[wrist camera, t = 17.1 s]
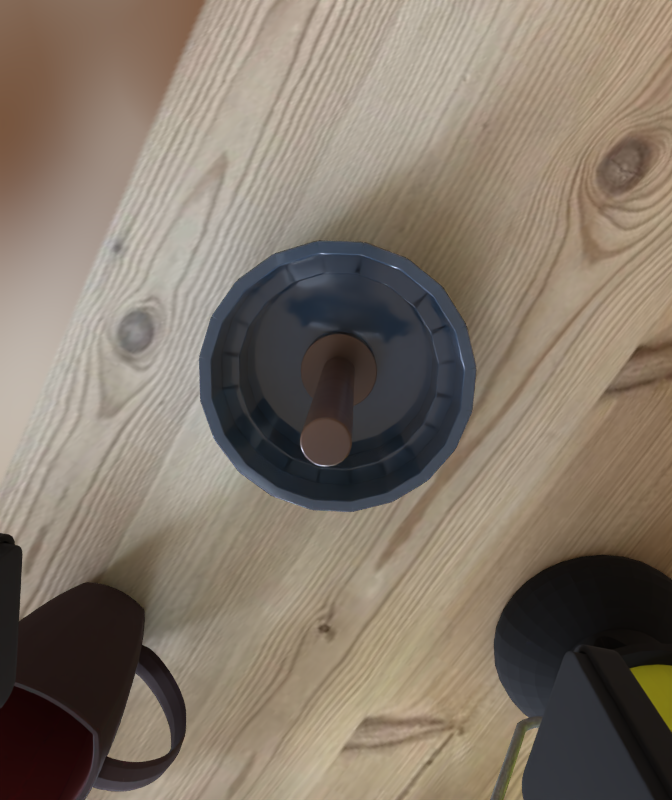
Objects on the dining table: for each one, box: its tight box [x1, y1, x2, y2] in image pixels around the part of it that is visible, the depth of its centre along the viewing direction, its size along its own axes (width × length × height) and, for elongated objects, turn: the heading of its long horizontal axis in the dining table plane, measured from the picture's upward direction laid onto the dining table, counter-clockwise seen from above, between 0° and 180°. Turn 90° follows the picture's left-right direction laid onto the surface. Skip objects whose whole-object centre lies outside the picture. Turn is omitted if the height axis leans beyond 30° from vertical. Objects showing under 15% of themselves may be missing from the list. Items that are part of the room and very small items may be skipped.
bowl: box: [199, 240, 476, 512], centre depth 34 cm, size 15×15×6 cm
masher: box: [300, 332, 377, 466], centre depth 29 cm, size 5×5×15 cm
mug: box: [0, 582, 186, 800], centre depth 36 cm, size 10×14×12 cm
